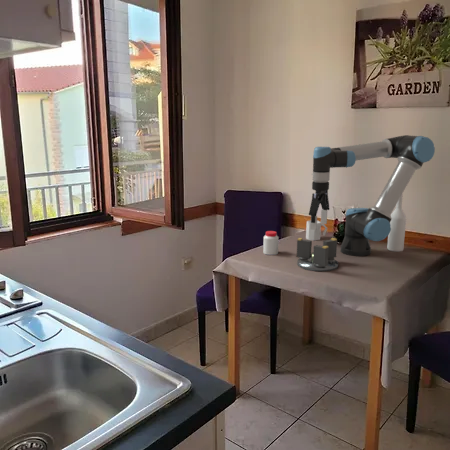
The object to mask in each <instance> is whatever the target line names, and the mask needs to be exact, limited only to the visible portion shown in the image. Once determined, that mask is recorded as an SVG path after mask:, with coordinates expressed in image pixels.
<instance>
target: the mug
mask: <svg viewBox="0 0 450 450" xmlns="http://www.w3.org/2000/svg"><path fill="white" fill-rule="evenodd" d="M310 225H311V219H310V220H306V226H305V227H306V230H305V240H310V241H320V240H321V235H323V236H326V234H327V230H328V227H327V226H326V224H322V223H321V220H320V221H319V220H317V230H312V229H310ZM322 227H324V230H323V232H322ZM321 233H322V234H321Z"/></svg>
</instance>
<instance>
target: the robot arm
mask: <svg viewBox="0 0 450 450" xmlns="http://www.w3.org/2000/svg"><path fill="white" fill-rule="evenodd" d="M435 150H436V147H435V143H434V142H433V140H432V139H431V138H429V137H426V136H422V135H409V134H408V135H400V136H394V137H389V138H384V139H382V141H376V142H370V143H362V144H354V145H346V146H340V147H330V146H315V148H314V150H313V157H312V158H313V159H312V165H313V166H312V173H311V176H312V183H311V190H313V191H315V192H313V193H312V196H311V201H310V202H311V203H310V206H309V212H308V216H310V220H311V225H310V229H312V230H317V221H318V215H317V214H318V210H319V207H320V206H321V210H320V212H321V213H320V222H321V224H324V225H327V223H328V211H330V200H329V193H328V192H329V189H330V182H329V181H330V177H331V176H330V175H331V173H330V172H331V169H334V168H351V167H353V166H354V165H355V164H356V162H357V161H360V160H361V161H363V160H370V159H377V158H384V159H390V158H391V159H392V158H393V159H394V158H395V159H397V161H398V162H397V164H396V166H395V168H394V170H393V172H392V174H391V175H390V177H389V179H388V180H387V183H386V184H385V185H384V188H383V190H381V193H380V195H379V197H378V198H377V200H376V202H375V203H374V206H371V207H369V208H368V207H353V208H351V207H350V208H348V209H347V210H346V211H345V226H344V227H345V228H344V238H343V240H342V243H341V244H340V253H342V254H344V255H347V256H354V257H363V256H364V257H365V256H368V255H371V253H372V247H371V244H370V241H374V242H380V241H383V240H385V239H386V238H388V235H389V233H390V231H391V227H390V226H391V225H390V221H391V219H392V218H391V214H392V212H393V211H394V210H395V208H396V204H397V202H398V200H399V199H400V197H401V195H402V193H403V194H404V192H405V190H406V189H407V186H408V184H409V182H410V181H411V179H412V177H413V175H414V173H415V172H416V171H417V170H419V169H421V168H422V166H423V165H424V163H427V162H429V161H431V160H432V159H433V157H434V156H435Z"/></svg>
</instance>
